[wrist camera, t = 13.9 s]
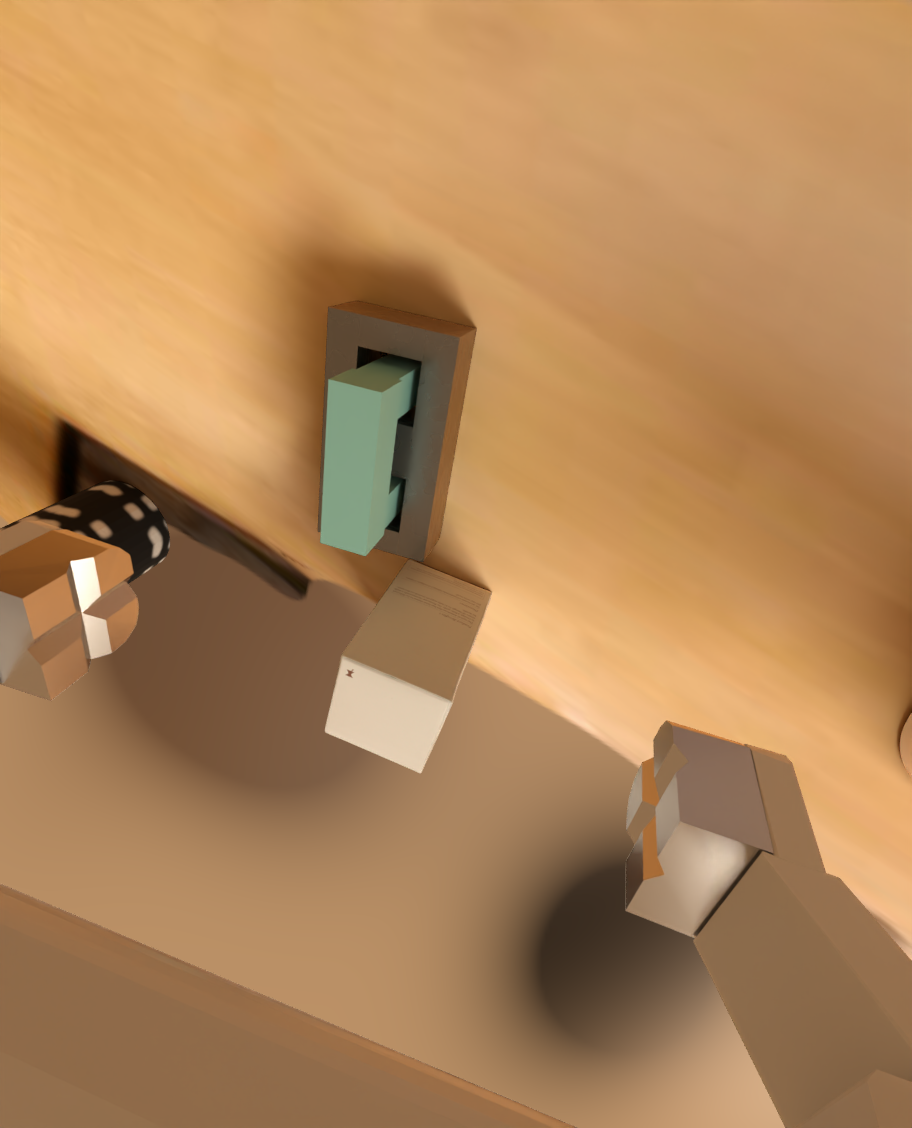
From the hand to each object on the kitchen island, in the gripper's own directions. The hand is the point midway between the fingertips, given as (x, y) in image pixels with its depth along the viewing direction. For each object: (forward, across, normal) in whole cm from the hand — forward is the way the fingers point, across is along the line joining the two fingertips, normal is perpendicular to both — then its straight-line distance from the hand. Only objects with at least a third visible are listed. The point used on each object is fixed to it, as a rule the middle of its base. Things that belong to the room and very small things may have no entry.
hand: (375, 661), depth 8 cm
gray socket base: (+31, +10, +8) cm, 34 cm away
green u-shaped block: (+31, +10, +8) cm, 34 cm away
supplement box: (+31, +5, +22) cm, 39 cm away
